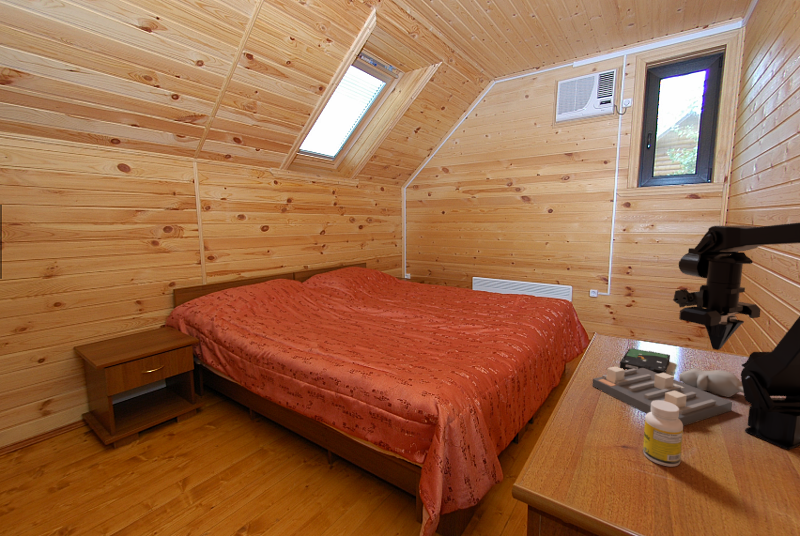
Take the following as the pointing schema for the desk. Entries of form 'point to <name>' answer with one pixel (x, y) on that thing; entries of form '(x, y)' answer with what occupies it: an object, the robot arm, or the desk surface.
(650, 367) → the disk drive
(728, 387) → the bunny figurine
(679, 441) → the supplement bottle
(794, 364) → the robot arm
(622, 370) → the tab far
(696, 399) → the switch panel
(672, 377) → the tab middle
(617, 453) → the desk surface
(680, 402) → the tab near
